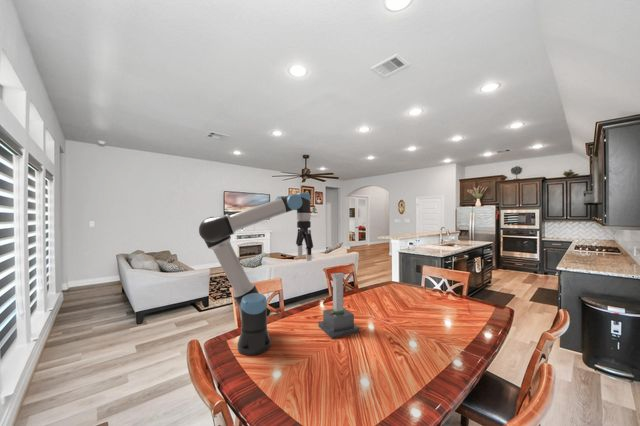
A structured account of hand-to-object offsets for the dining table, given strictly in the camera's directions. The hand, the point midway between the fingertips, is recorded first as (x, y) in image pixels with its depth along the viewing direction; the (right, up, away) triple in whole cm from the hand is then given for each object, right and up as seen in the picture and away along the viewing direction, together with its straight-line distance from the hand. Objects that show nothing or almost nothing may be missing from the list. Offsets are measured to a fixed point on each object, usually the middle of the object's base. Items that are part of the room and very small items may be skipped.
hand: (304, 258), depth 147 cm
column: (+18, -31, -6) cm, 36 cm away
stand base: (+19, -36, -6) cm, 41 cm away
